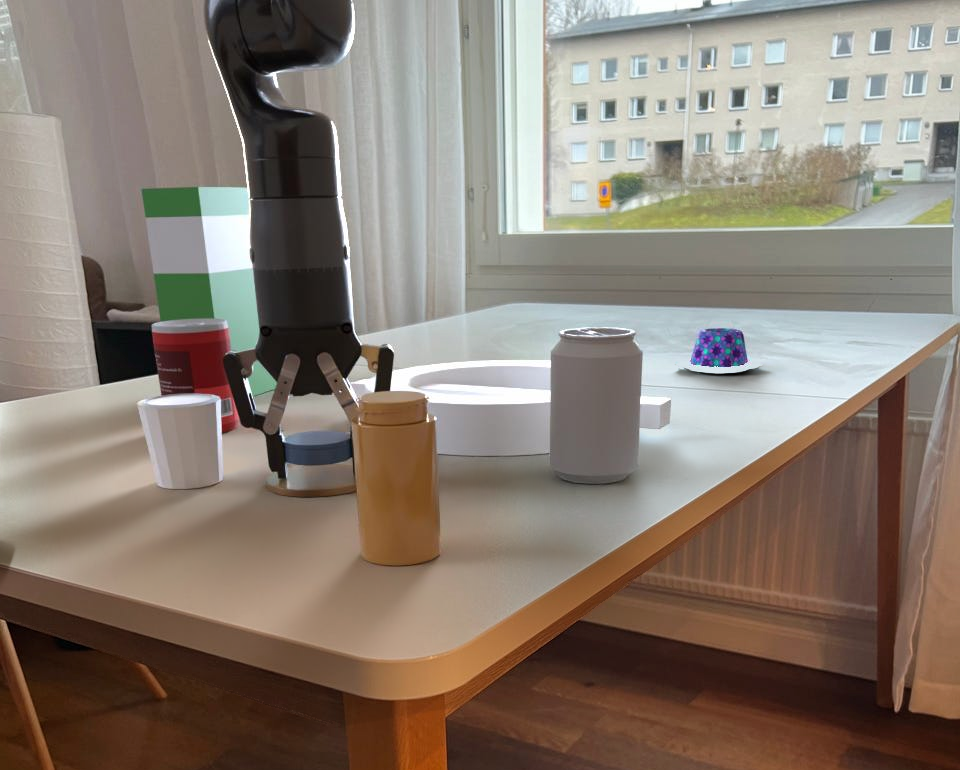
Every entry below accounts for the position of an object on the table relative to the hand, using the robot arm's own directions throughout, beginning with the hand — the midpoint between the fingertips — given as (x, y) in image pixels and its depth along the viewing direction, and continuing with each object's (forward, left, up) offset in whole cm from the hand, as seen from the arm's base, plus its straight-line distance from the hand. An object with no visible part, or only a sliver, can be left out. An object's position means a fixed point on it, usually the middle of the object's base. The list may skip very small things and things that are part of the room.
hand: (320, 473), depth 84 cm
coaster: (0, 0, -1) cm, 1 cm away
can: (+23, -4, -1) cm, 23 cm away
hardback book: (-8, +50, -1) cm, 51 cm away
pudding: (+57, +47, -1) cm, 74 cm away
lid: (0, 0, +3) cm, 3 cm away
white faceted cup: (-11, +4, -1) cm, 12 cm away
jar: (+4, -20, -1) cm, 21 cm away
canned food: (-11, +27, -1) cm, 29 cm away
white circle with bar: (+20, +19, -1) cm, 28 cm away
